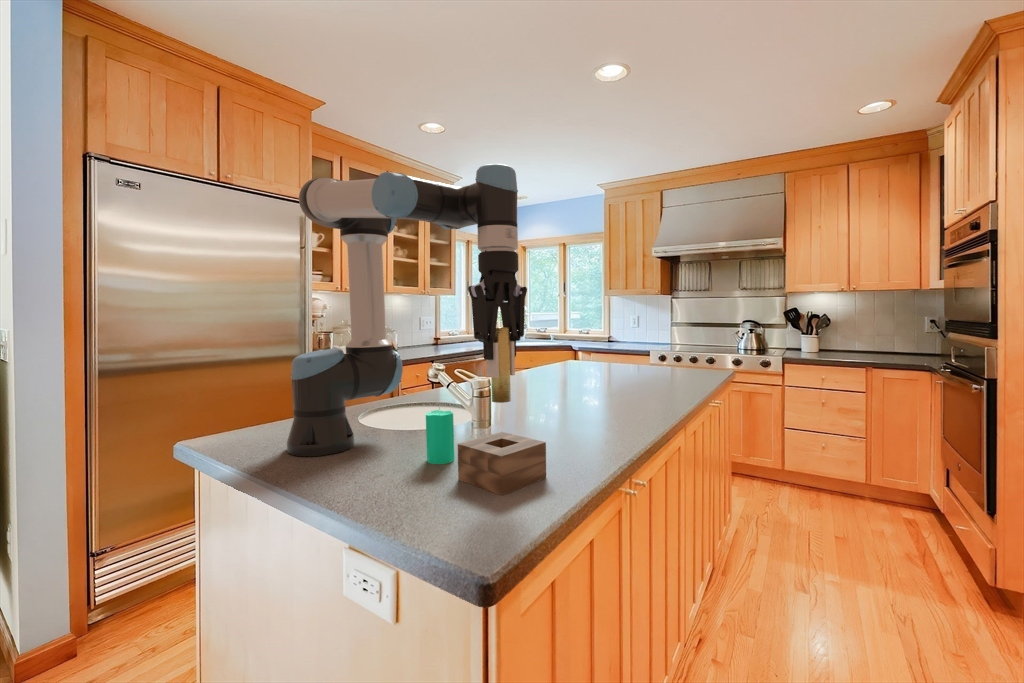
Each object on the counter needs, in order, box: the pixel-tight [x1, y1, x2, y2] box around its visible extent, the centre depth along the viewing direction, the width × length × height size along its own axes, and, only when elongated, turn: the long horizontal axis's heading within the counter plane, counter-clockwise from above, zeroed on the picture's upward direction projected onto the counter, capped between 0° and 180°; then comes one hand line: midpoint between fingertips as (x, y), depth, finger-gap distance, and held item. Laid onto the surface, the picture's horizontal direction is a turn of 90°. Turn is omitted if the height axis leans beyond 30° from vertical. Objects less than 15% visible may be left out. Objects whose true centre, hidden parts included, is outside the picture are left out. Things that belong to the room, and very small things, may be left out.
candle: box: [425, 405, 455, 465], centre depth 106 cm, size 6×6×12 cm
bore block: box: [457, 431, 547, 496], centre depth 93 cm, size 12×12×7 cm
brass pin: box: [490, 326, 512, 404], centre depth 92 cm, size 4×4×14 cm
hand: (500, 375), depth 92 cm, fingers closed on brass pin, 3 cm apart
